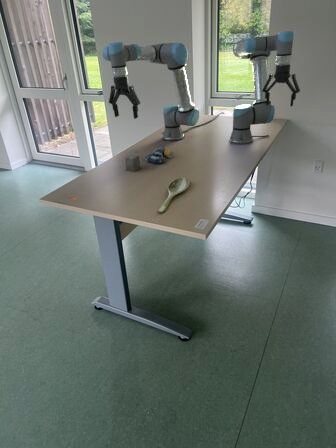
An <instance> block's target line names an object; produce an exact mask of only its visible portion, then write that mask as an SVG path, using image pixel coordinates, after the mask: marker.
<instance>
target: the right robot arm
mask: <svg viewBox="0 0 336 448" xmlns="http://www.w3.org/2000/svg"><path fill="white" fill-rule="evenodd" d="M293 43H294V31H293V30H281V31H279V32H278V34H273V35H264V36H251V37H247V38H244V39H240V40H238V41H236V42H235V43H234V44H233V47H232V53H233V55H234V56H235V57H236V58H238V59H240V60H249V61H250V62H249V63H250V64H252V75H253V90H254V92H253V93H254V102H253V103H252V104H249V103H244V104H239V105H237V106H235V107H234V108H233V112H232V131H231V134H230V137H229V142H230V143H231V144H235V145H246V144H250V143H252V142H253V139H254V138H266V137H267V138H268V137H269V136H270V135H269V134H267V135H253V133H252V131H251V126H253V125H262V124H263V125H265V124H271V122H273V120H274V117H275V111H276V108H275V105H274V104H272V101H271V100H270V97H271V96H270V95H271V92H270V91H271V90H272V89H273V88H274V86H275V85H276V84H286V85H287V87H288V88H289V89H290V91H291V92H292V93H291V97H290V105H289V106H290V107H293V106H294V101H295V100H296V98H297V94H298V93H300V92H301V89H300V86H299V82H298V80H297V77H296V73H292V74H291V63H292V52H293V46H294V45H293ZM272 52H276V58H275V64H276V65H275V68H274V69H275V70H274V74H273V73H270V74H268V70H267V68H268V67H267V61H269V58H270V57H271V54H272ZM272 79H275V80H274V81H272ZM290 79H291V81H292V82H291V81H290ZM271 81H272V83H271ZM292 83H293V84H292Z"/></svg>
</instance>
